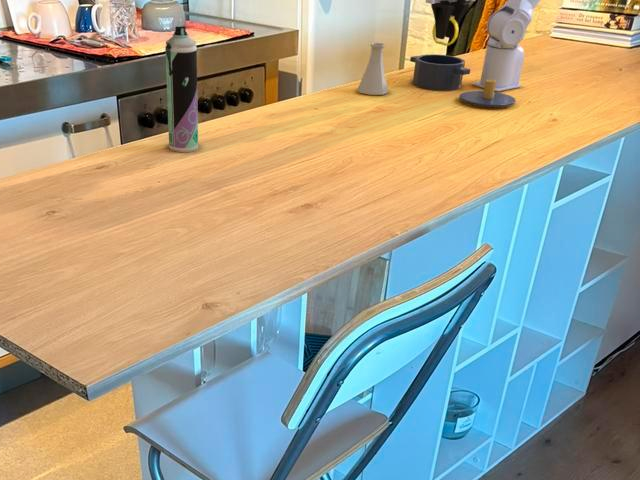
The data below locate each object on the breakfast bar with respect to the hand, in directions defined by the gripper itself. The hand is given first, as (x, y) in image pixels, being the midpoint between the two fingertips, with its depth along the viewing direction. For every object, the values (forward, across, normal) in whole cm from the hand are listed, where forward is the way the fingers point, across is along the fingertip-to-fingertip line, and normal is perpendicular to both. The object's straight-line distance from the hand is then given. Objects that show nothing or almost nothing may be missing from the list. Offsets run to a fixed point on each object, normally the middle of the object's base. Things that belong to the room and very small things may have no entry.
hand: (444, 38), depth 190 cm
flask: (+11, -18, +3) cm, 21 cm away
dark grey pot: (+10, +1, +1) cm, 10 cm away
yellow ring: (+2, 0, 0) cm, 2 cm away
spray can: (+12, -79, -12) cm, 81 cm away
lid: (+10, -1, -17) cm, 19 cm away
